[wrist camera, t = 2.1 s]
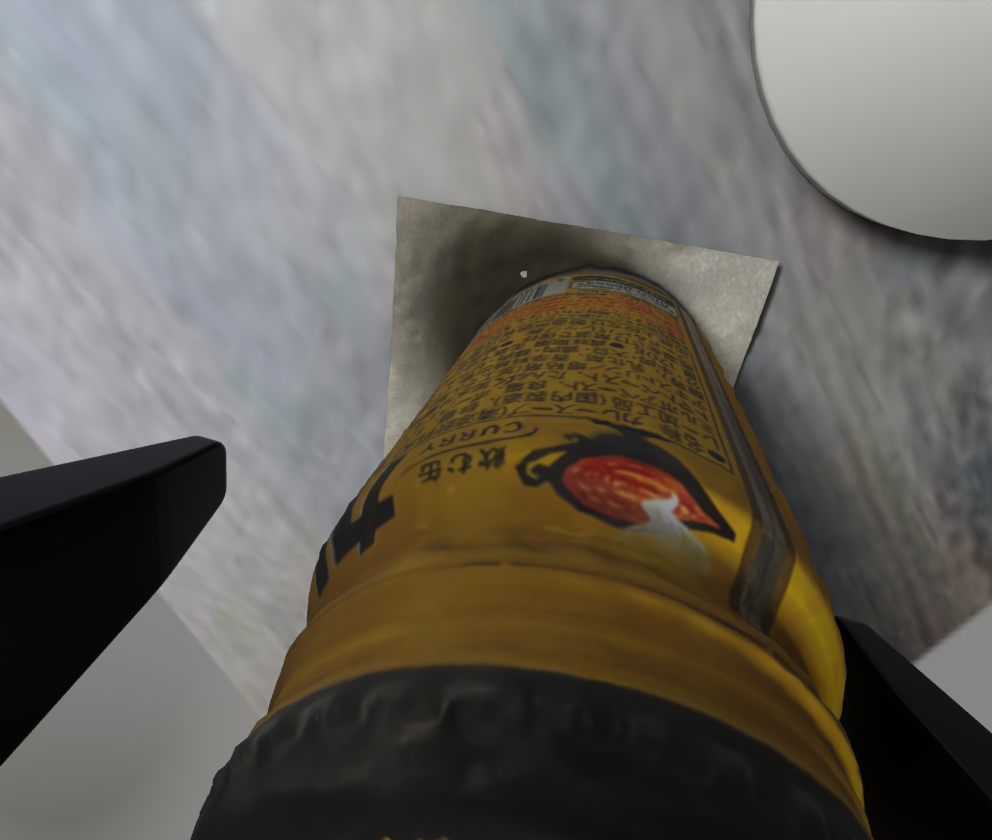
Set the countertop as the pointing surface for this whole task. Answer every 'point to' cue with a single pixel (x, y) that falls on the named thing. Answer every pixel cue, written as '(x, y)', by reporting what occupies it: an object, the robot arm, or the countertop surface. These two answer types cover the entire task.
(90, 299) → the countertop surface
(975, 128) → the coaster
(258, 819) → the condiment
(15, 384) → the countertop surface
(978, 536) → the countertop surface
